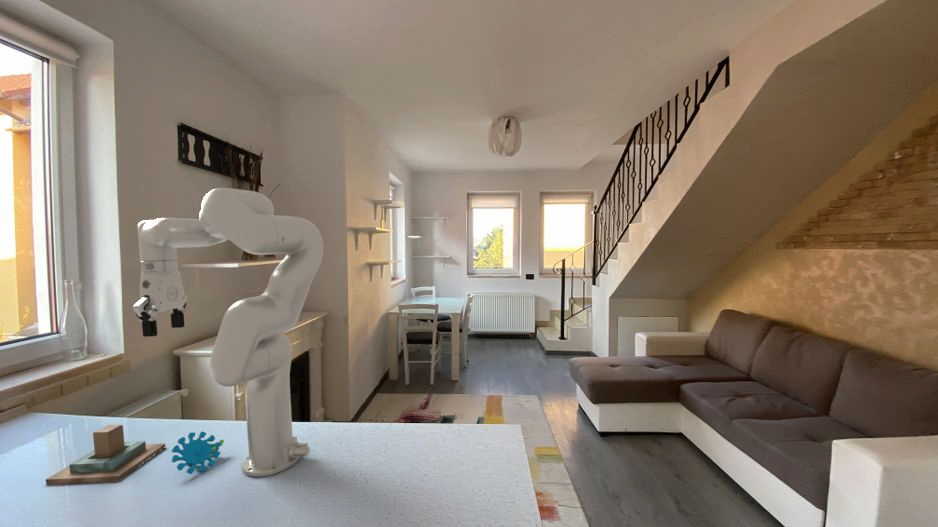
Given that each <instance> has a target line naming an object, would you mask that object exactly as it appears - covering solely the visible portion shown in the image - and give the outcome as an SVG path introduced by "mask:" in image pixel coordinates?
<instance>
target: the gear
mask: <svg viewBox="0 0 938 527" xmlns="http://www.w3.org/2000/svg"><path fill="white" fill-rule="evenodd" d="M195 436H196V432H189V433H188V435H187V437H188V443H186V442H185V441H186V437H185V436H182V437H180V438H178V440H177V443H178V445H177V444H176V445H175V446H173V448H172V449H171V453H177V454H179V455H180V456H179V455H177V454H174V455H172V458H171V463H177V462H178V461H181V462H179V463H178V464H177V465H176V468H177V470H178V471H182V470H183V469H184V468H185V467H186V466H190V465H192V466H190V467H188V469H186V473H187V474H190V475H192V474H193V473H194V472H195V468H196V466H197V465H200V466H199V468H198V470H197V471H198V473H204V472H205V471H206V470H207V467H206V464H205V462H206V461H208V464H207V466H208V467H213V466H214V465H216V460H215V459H218V458H219V457H220V455H221V453H222V452H221V451H219V449H220V447H222V445H223V444H224V443H225V440H224V439H220V440H219V441H218V442H214V441H215V440H216V437H215V435H214V434H211V435H209V437H208V438H206V439H203V438H205V437H206V436H207V433H206V432H205V431H200V433H199V434H198V438H196V439H194V437H195ZM202 439H203V440H202ZM208 442H214V443H208ZM179 445H181V446H182V449H180V446H179ZM211 455H212V456H213V458H214V459H213V458H212V456H211ZM182 461H183V462H182ZM189 464H190V465H189Z"/></svg>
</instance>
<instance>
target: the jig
mask: <svg viewBox="0 0 938 527" xmlns="http://www.w3.org/2000/svg"><path fill="white" fill-rule="evenodd" d="M124 444H125V449H124V450H123V451H121V452H120V453H118V454H116V455H115V456H113V457H112V458H103V459H95V450H94V449H93V450H92V451H90V452H87V454H85V455H83V456H82V457H79V458H78V459H76V460H75V461H73V462H71V463H70V464H69V465H68V466H67V467H64V468H63V469H61V470H60V471H58V472H56V473H55V474H52V475H51V476H49V477H47V478H46V479H45V485H64V484H65V485H66V484H67V485H69V484H85V483H87V482H88V483H89V482H90V483H107V482H110V481H111V482H120V481H121V480H122V479H121V478H123V477H124V476H125V477H126V475H127V474H128V475H130V474H131V473H132V472H134V471H135V470H136V468H137V467H138V466H139V465H141V464H142V463H143V462H145V461H146V460H147V459H149V458H150V457H152V456H153V455H154V454H156V453H157V452H159V451H160V450H162V449H163V448H164V447H165V448H166V443H148V444H147V443H146V440H141V441H140V440H139V441H124ZM163 450H164V449H163ZM163 450H162V451H163ZM160 452H161V451H160ZM160 452H159V453H160ZM156 455H157V454H156ZM153 457H154V456H153ZM153 457H152V458H153ZM149 460H150V459H149ZM146 462H147V461H146ZM146 462H145V463H146ZM142 465H143V464H142ZM142 465H141V466H142ZM139 467H140V466H139ZM139 467H138V468H139ZM138 468H137V469H138ZM134 469H135V470H134ZM133 470H134V471H133ZM131 471H132V472H131ZM130 472H131V473H130ZM129 473H130V474H129ZM128 475H127V476H128ZM125 477H124V478H125ZM124 478H123V479H124ZM120 479H121V480H120ZM119 480H120V481H119ZM88 483H87V484H88Z"/></svg>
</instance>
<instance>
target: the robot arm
mask: <svg viewBox="0 0 938 527" xmlns="http://www.w3.org/2000/svg"><path fill="white" fill-rule="evenodd" d="M274 212H275V208H274V205H273V203H272V201H271V199H270V198H268V197H267V196H266V195H265V194H263V193H260V192H258V191H254V190H247V189H246V190H245V189H239V188H238V189H237V188H230V187H216V188H214V189H211V190H210V191H209V192H208V193H206V194H205V196H203V199H202V201H201V210H200V211H199V218H184V217H183V218H182V217H181V218H179V217H177V218H176V217H175V218H174V217H161V218H156V219H154V220H153V219H149V220H148V219H147V220H142V221H140V222H138V224H137V234H138V246H139V247H138V248H139V261H140V270H141V273H140V281H139V300H138V301H137V302H136V303H135V304H133V306H132V309H133V311H134V313H135V316H136V317H137V318H138V319H139V320H138V321H139V322H141V328H142V329H141V330H142V336H143V337H147V338H149V337H157V336H158V325H157V319H156V320H155V318H156V317H157V314H158V312H167V311H170V312H171V313H170V322H171V323H170V324H171V328H172V329H179V328H181V329H182V328H185V312H186V309H185V308H186V307H187V302H188V295H187V294H185V290H184V283H183V280H182V279H183V277H182V275H181V272H180V271H179V270H178V269H179V267H178V256H177V255H178V254H177V253H178V252H177V248H178V249H179V248H203V247H204V248H205V247H209V246H214V245H218V244H221V243H224V242H227V241H228V240H229V242H231V243H233V245H235V246H236V247H238V248H239V249H241V250H242V251H244V252H246V253H248V254H251V255H256V256H266V255H283V254H285V257H284V258H283V259H282V260H281V261H280V262H279V263H278V264H277V266H276V267H275V268H274V270H273V271H272V272H271V275H270V278H269V281H268V284H267V287H266V289H265V290H264V292H263V293H262V294H260V295H258V296H252V297H247V298H243V299H240V300H237V301H236V302H234V303H233V304H232V305H230V307H228V309H227V310H226V312H225V313H224V315H223V317H222V320H221V323H220V326H219V329H218V333H217V337H215V338H216V339H215V342H214V345H213V348H212V351H211V355H210V359H209V360H210V361H209V370H210V373H211V377H212V379H213V380H214V382H215V383H217V385H219V386H221V387H227V388H228V387H229V388H231V387H236V386H239V385H241V384H242V385H243V384H245V383H246V384H247V385H246V387H245V394H244V398H245V416H246V430H247V432H246V433H247V443H248V445H247V446H248V456H247V457H245V458H244V460H243V461H242V464H241V469H242V473H244V474H245V475H246V476H249V477H257V478H259V477H268V476H272V475H275V474H278V473H281V472H283V471H285V470H287V469H289V468H291V467H292V466H293V465H295V463H297V462H298V461H299V459H300V457H304V456H305V457H308V456H309V455H310V451H311V450H310V449H311V448H310V446H309V442H298V436H293V435H294V434H293V421H292V403H291V386H290V384H291V381H290V380H291V379H290V378H291V377H290V374H291V365H292V358H293V357H292V356H293V346H292V342H291V340H290V338H289V337H288V336H287V335H286V334H285V333H288V332H289V331H291V330H292V329H293V328H295V326H296V324H297V323H298V322H299V321H298V320H299V318H300V315H301V312H302V310H303V307H304V304H305V302H306V298H307V296H308V294H309V291H310V287H311V285H312V282H313V280H314V278H315V275H316V274H317V271H318V270H319V267H320V265H321V263H322V259H323V254H324V242H323V237H322V235H321V232H320V230H319V228H318V227H317V226H316V225H315V224H314V223H313V222H312V221H310V220H308V219H306V218H303V217H301V216H300V217H299V216H293V215H292V216H291V215H277V214H275V213H274Z"/></svg>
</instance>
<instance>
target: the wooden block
mask: <svg viewBox="0 0 938 527" xmlns="http://www.w3.org/2000/svg"><path fill="white" fill-rule="evenodd" d="M92 436H93V448H94V449H93V451H94V450H95V459H103V458H112V457H113V456H115V455H116V454H118V453H120V452H121V451H123V450H124V449H125V444H124V442H125V433H124V425H123V424H107V425H105V426H103V427H101V428H99V429H97V430H95V431H93V433H92Z"/></svg>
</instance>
